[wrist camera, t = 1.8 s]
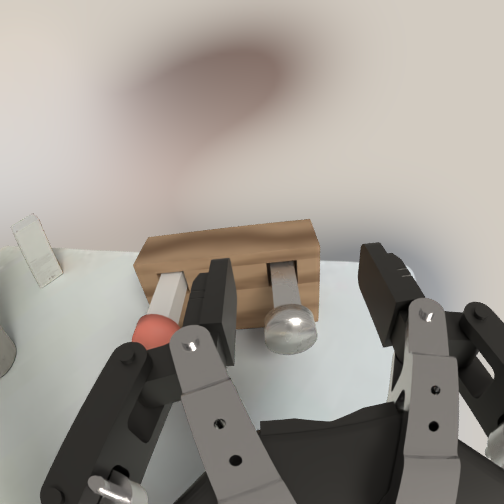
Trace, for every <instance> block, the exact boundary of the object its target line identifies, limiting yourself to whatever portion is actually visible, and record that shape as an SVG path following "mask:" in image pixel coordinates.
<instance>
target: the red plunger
mask: <svg viewBox="0 0 504 504" xmlns="http://www.w3.org/2000/svg"><path fill="white" fill-rule="evenodd" d="M187 287H188V284H187V281H186V278H185V274H184V271H180V272H169V273H162V274H161V276H160V279H159V282H158V284H157V287H156V290H155V292H154V295H153V298H152V300H151V303H150V306H149V309H148V312H147V314H146V315H145V316H143V317H141V318H140V319H139V321H138V323H137V326H136V329H135V331H134V334H133V337H132V342H138V343H140V344H142V345H143V346H144V347H145V348H146V350H149V349H152V348H156V347H159V346H163V345H165V344H167V343H169V342H170V339H171V337H172V335H173V334H174V333H175V332H176V331H177V330H179V329H181V328H180V327H179V325H178V323H179V319H180V315H181V311H182V307H183V303H184V299H185V295H186V291H187Z"/></svg>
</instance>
